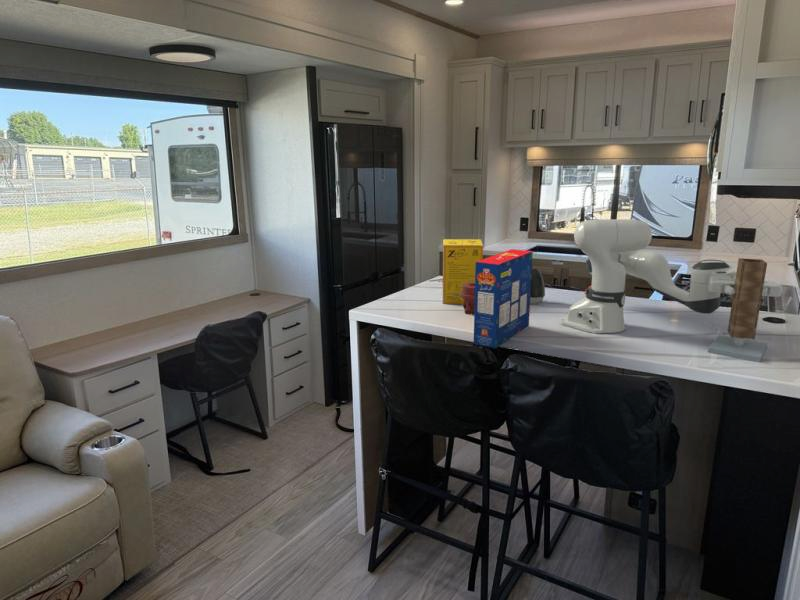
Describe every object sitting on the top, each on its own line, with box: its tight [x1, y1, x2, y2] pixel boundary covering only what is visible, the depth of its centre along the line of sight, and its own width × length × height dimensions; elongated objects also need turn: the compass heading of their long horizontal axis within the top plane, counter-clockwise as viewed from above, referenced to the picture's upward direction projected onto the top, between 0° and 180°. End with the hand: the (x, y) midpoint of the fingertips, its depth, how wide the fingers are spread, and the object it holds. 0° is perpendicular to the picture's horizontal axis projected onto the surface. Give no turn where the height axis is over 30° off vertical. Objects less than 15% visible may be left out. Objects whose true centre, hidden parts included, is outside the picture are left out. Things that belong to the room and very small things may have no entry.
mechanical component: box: [460, 282, 475, 315], centre depth 220 cm, size 12×10×10 cm
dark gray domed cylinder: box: [530, 266, 546, 305], centre depth 233 cm, size 10×10×15 cm
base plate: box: [707, 334, 768, 363], centre depth 176 cm, size 14×16×8 cm
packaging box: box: [442, 238, 484, 305], centre depth 239 cm, size 16×16×25 cm
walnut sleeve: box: [727, 257, 768, 340], centre depth 173 cm, size 6×6×24 cm
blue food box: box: [473, 248, 534, 349], centre depth 191 cm, size 28×8×28 cm, turn 145°
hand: (748, 292), depth 172 cm, fingers closed on walnut sleeve, 6 cm apart
